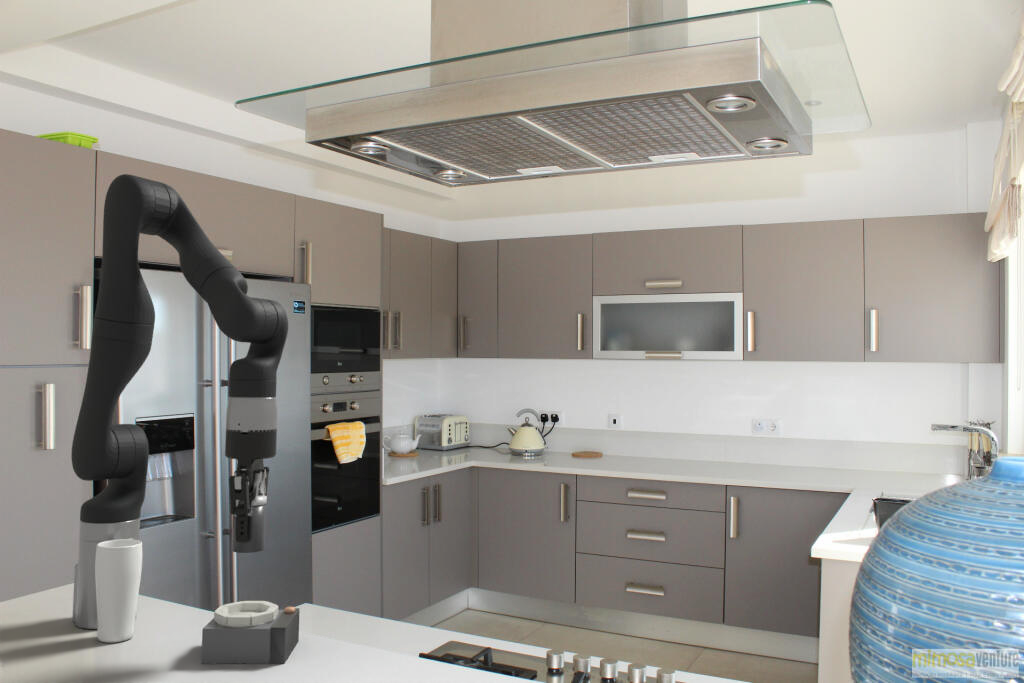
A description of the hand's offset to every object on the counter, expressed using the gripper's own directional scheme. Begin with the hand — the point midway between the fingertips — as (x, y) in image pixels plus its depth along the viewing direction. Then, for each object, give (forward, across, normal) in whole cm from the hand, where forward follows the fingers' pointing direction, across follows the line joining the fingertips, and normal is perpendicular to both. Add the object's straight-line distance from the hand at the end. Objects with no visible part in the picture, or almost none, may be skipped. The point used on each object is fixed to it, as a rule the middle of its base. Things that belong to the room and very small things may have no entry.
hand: (248, 537), depth 124 cm
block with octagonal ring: (+17, 0, +1) cm, 17 cm away
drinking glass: (+17, -6, -22) cm, 29 cm away
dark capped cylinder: (+2, 0, 0) cm, 2 cm away
